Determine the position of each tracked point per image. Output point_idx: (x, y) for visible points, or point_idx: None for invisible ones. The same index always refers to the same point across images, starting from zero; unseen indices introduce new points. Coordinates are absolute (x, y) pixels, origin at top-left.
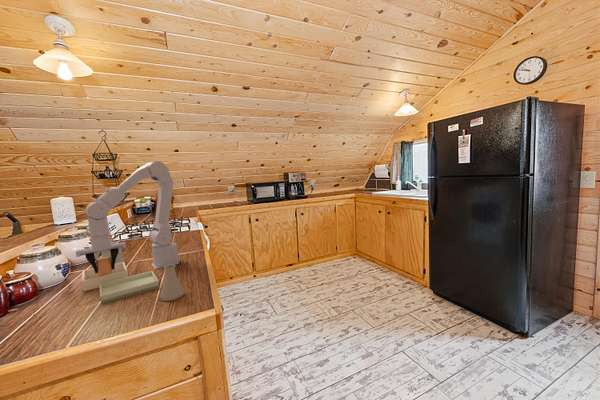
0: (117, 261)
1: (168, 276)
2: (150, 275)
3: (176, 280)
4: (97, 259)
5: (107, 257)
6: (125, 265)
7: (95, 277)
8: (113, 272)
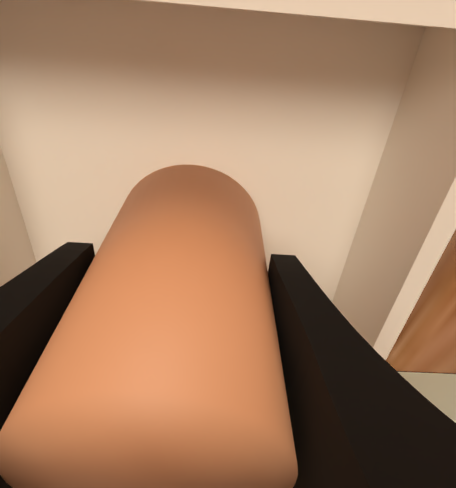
0: None
1: None
2: (448, 398)
3: None
4: (22, 457)
5: (237, 461)
6: (434, 268)
7: (71, 9)
8: (300, 16)
